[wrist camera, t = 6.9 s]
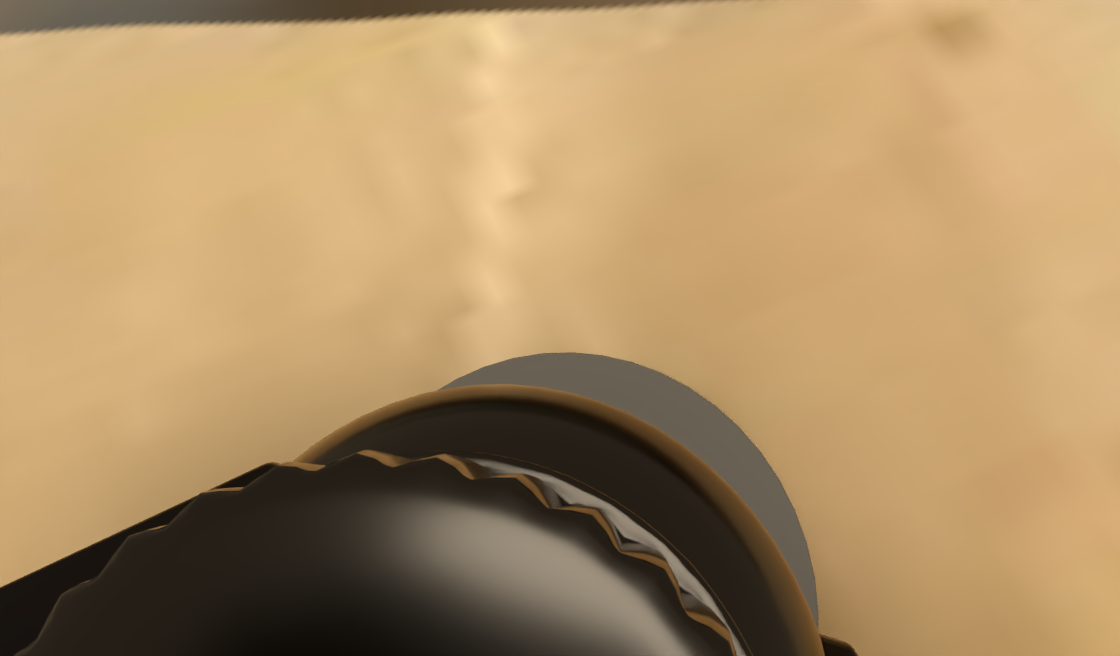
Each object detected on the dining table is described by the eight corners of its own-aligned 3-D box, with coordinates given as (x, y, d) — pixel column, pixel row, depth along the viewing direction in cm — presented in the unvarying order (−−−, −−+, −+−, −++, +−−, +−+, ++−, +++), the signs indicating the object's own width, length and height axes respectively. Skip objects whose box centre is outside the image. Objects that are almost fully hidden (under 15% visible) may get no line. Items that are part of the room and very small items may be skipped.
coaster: (694, 986, 14) (697, 1007, 13) (241, 712, 16) (227, 720, 15) (881, 475, 16) (891, 474, 15) (461, 289, 18) (456, 283, 17)
